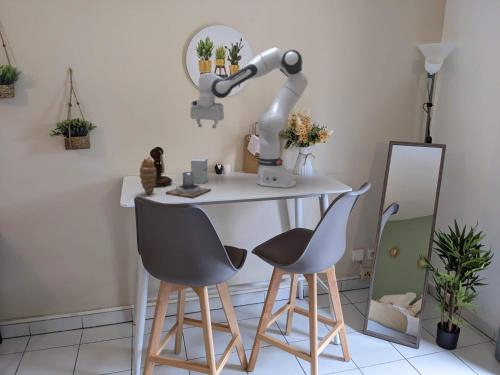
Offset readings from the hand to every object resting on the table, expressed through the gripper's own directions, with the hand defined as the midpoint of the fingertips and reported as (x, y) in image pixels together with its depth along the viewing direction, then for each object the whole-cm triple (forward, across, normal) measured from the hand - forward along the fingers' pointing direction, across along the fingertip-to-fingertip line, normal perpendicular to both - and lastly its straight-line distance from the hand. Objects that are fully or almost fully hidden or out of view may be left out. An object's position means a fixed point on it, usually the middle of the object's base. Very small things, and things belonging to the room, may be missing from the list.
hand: (207, 127), depth 222 cm
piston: (+28, -9, +32) cm, 43 cm away
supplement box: (+29, -1, +10) cm, 31 cm away
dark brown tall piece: (+29, +15, +26) cm, 42 cm away
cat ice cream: (+29, +6, +44) cm, 53 cm away
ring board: (+29, -9, +32) cm, 44 cm away
